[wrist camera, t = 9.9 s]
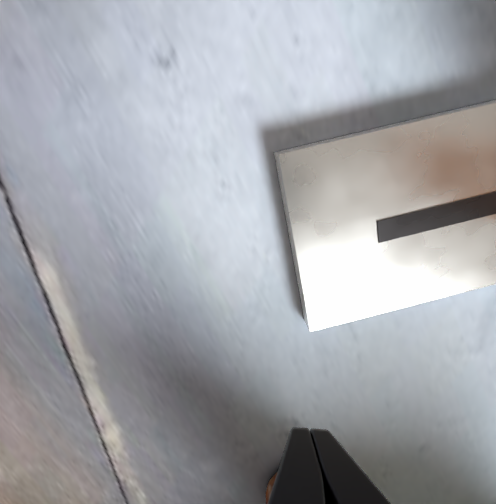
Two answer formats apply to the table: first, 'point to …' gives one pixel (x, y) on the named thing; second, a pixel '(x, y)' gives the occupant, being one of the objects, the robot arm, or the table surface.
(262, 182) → the table surface
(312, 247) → the fader console
